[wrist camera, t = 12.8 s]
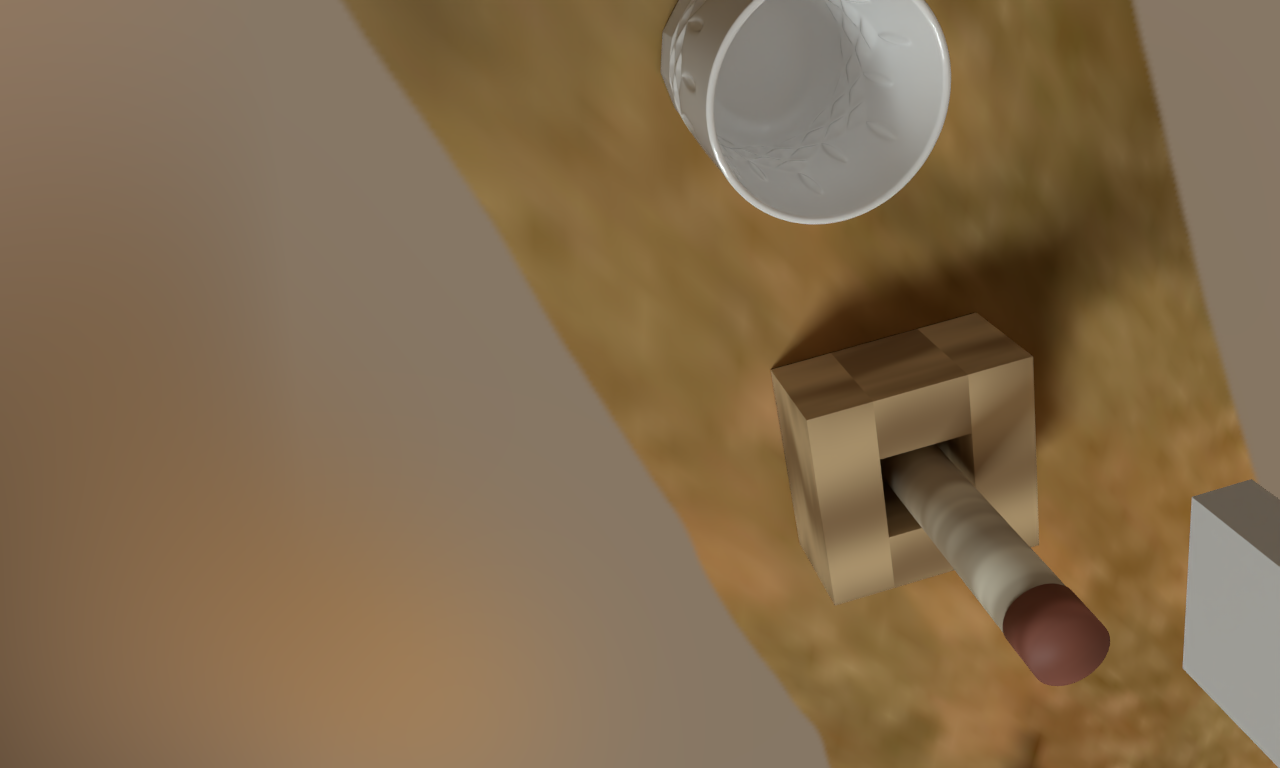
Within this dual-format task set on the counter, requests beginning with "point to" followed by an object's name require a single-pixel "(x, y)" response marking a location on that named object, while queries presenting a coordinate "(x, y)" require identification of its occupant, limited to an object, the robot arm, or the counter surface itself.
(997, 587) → the brown-tipped rod
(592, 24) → the counter surface
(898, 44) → the white cup
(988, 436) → the bead block
